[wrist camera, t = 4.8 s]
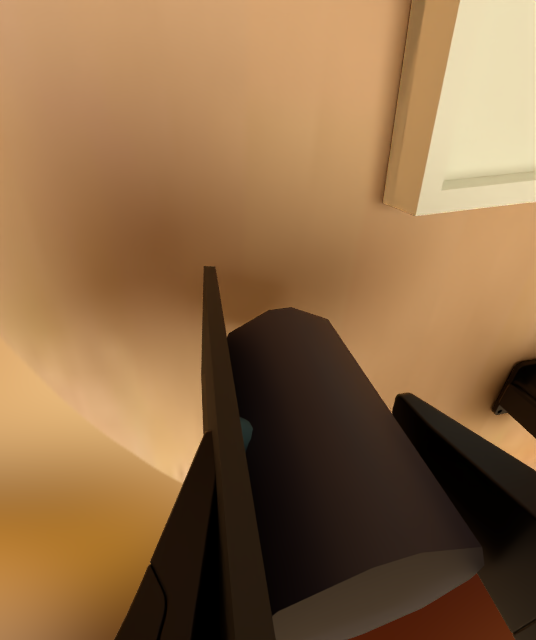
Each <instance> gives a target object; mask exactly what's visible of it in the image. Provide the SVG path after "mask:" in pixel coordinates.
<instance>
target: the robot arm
mask: <svg viewBox="0 0 536 640" xmlns="http://www.w3.org/2000/svg"><path fill="white" fill-rule="evenodd" d="M492 412H493V413H494V414H495V415H499V414H504V413H509V414H510V415H511V416H512V417H513V418H514V419H515V420H516V421H517V422H518V423H519V424H521V425H522V426H523V427H524V428H525V429H526V430H527V431H528V432H529V433H530V434H531V435H532V436H534V437H535V438H536V360H532V361H527V362H521V363H519V364H517V365H516V366H515V367H514V369H513V371H512V373H511V374H510V376H509V378H508V380H507V382H506V384H505V386H504V388H503V389H502V391H501V393H500V395H499V397H498V399H497V401H496V403H495V404H494V406H493V408H492ZM392 414H393V416H394V418H395V419H396V421H397V422H398V424H399V425H400V427H401V428H402V430H403V431H404V432H405V434H406V435H407V437H408V438H409V440H410V441H411V443H412V444H413V446H414V447H415V449H416V450H417V452H418V453H419V455H420V456H421V458H422V459H423V461H424V462H425V463H426V465H427V466H428V468H429V469H430V471H431V472H432V474H433V475H434V477H435V478H436V480H437V481H438V483H439V484H440V486H441V487H442V489H443V490H444V491H445V493H446V494H447V496H448V497H449V499H450V500H451V502H452V503H453V505H454V506H455V508H456V509H457V511H458V512H459V514H460V515H461V517H462V518H463V520H464V521H465V522H466V524H467V525H468V527H469V528H470V530H471V531H472V533H473V534H474V536H475V537H476V539H477V540H478V542H479V543H480V545H481V546H482V550H483V558H484V565H485V566H483V567H482V568H481V569H480V570H479V571H478V572H477V574H478V575H479V577H480V579H481V581H482V582H483V584H484V586H485V588H486V589H487V591H488V593H489V594H490V596H491V598H492V600H493V601H494V603H495V605H496V607H497V608H498V610H499V612H500V613H501V615H502V617H503V619H504V620H505V622H506V624H507V626H508V628H509V629H510V631H511V632H512V633H513V636H514V638H515V640H536V471H535V470H534V469H532V468H531V467H529V466H527V465H526V464H524V463H522V462H521V461H519V460H518V459H516V458H514V457H513V456H511V455H510V454H508V453H506V452H505V451H503V450H502V449H500V448H498V447H497V446H495V445H494V444H492V443H490V442H489V441H487V440H486V439H484V438H482V437H481V436H479V435H477V434H476V433H474V432H473V431H471V430H469V429H468V428H466V427H465V426H463V425H461V424H460V423H458V422H457V421H455V420H453V419H452V418H450V417H449V416H447V415H445V414H444V413H442V412H441V411H439V410H437V409H436V408H434V407H433V406H431V405H429V404H428V403H426V402H424V401H423V400H421V399H420V398H418V397H416V396H415V395H413V394H411V393H402V394H398V395H397V396H396V398H395V402H394V406H393V410H392ZM150 563H151V564H150V565H149V566H148V568H147V570H146V572H145V575H144V577H143V580H142V582H141V584H140V586H139V589H138V591H137V593H136V595H135V598H134V600H133V602H132V604H131V606H130V609H129V611H128V613H127V616H126V617H125V619H124V621H123V623H122V625H121V627H120V629H119V631H118V633H117V635H116V637H115V639H114V640H220V625H219V578H218V531H217V487H216V474H215V463H214V451H213V440H212V430H209V431H206V432H205V434H204V436H203V438H202V440H201V443H200V445H199V447H198V450H197V452H196V454H195V457H194V459H193V462H192V464H191V466H190V469H189V471H188V473H187V476H186V478H185V480H184V483H183V485H182V488H181V490H180V492H179V495H178V497H177V499H176V502H175V504H174V506H173V509H172V511H171V514H170V516H169V518H168V521H167V523H166V525H165V528H164V530H163V532H162V535H161V537H160V540H159V542H158V544H157V547H156V549H155V551H154V554H153V556H152V558H151V561H150Z"/></svg>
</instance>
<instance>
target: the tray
mask: <svg viewBox="0 0 536 640" xmlns="http://www.w3.org/2000/svg"><path fill="white" fill-rule="evenodd" d="M530 202H536V0H412V3H411V10H410V17H409V24H408V31H407V38H406V45H405V52H404V59H403V66H402V72H401V79H400V86H399V93H398V100H397V107H396V114H395V121H394V128H393V135H392V142H391V149H390V156H389V163H388V170H387V177H386V184H385V191H384V198H383V203H384V204H386V205H389V206H391V207H394V208H396V209H399V210H401V211H404V212H406V213H409V214H412V215H414V216H420V215H429V214H437V213H446V212H454V211H462V210H471V209H479V208H488V207H496V206H504V205H513V204H521V203H530Z"/></svg>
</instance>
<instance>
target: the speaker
mask: <svg viewBox="0 0 536 640" xmlns="http://www.w3.org/2000/svg"><path fill="white" fill-rule="evenodd" d="M201 381H202V407H203V434H205V432H206V431H209V430H212V440H213V451H214V463H215V474H216V487H217V531H218V578H219V625H220V640H347V639H350V638H353V637H356V636H358V635H361V634H364V633H366V632H369V631H371V630H373V629H375V628H378V627H380V626H382V625H384V624H387V623H389V622H391V621H394V620H396V619H398V618H400V617H403V616H405V615H407V614H409V613H412V612H414V611H416V610H419V609H421V608H423V607H425V606H426V605H428V604H429V603H431V602H433V601H434V600H436V599H438V598H439V597H441V596H443V595H444V594H446V593H448V592H449V591H451V590H453V589H454V588H456V587H457V586H459V585H461V584H462V583H464V582H466V581H467V580H469V579H470V578H471V577H472V576H474V575H475V574H476V573H477V572H478V571H479V570H480V569H481V568H482V567H483V566H485V565H484V558H483V550H482V546H481V545H480V543H479V542H478V540H477V539H476V537H475V536H474V534H473V533H472V531H471V530H470V528H469V527H468V525H467V524H466V522H465V521H464V520H463V518H462V517H461V515H460V514H459V512H458V511H457V509H456V508H455V506H454V505H453V503H452V502H451V500H450V499H449V497H448V496H447V494H446V493H445V491H444V490H443V489H442V487H441V486H440V484H439V483H438V481H437V480H436V478H435V477H434V475H433V474H432V472H431V471H430V469H429V468H428V466H427V465H426V463H425V462H424V461H423V459H422V458H421V456H420V455H419V453H418V452H417V450H416V449H415V447H414V446H413V444H412V443H411V441H410V440H409V438H408V437H407V435H406V434H405V432H404V431H403V430H402V428H401V427H400V425H399V424H398V422H397V421H396V419H395V418H394V416H393V415H392V413H391V412H390V410H389V409H388V407H387V406H386V404H385V403H384V402H383V400H382V399H381V397H380V396H379V394H378V393H377V391H376V390H375V388H374V387H373V385H372V384H371V382H370V381H369V379H368V378H367V376H366V375H365V373H364V372H363V371H362V369H361V368H360V366H359V365H358V363H357V362H356V360H355V359H354V357H353V356H352V354H351V353H350V351H349V350H348V348H347V347H346V345H345V344H344V343H343V341H342V340H341V338H340V337H339V335H338V334H337V332H336V331H335V329H334V328H333V326H332V325H331V323H330V322H329V320H328V319H325V318H322V317H319V316H316V315H313V314H310V313H307V312H304V311H301V310H298V309H295V308H292V307H290V308H283V309H275V310H268V311H267V312H265V313H263V314H262V315H260V316H258V317H256V318H255V319H253V320H251V321H249V322H248V323H246V324H244V325H242V326H241V327H239V328H237V329H235V330H234V331H232V332H230V333H229V334H228V336H226V330H225V324H224V318H223V312H222V305H221V299H220V293H219V287H218V281H217V275H216V269H215V267H211V266H204V282H203V323H202V365H201Z"/></svg>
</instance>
